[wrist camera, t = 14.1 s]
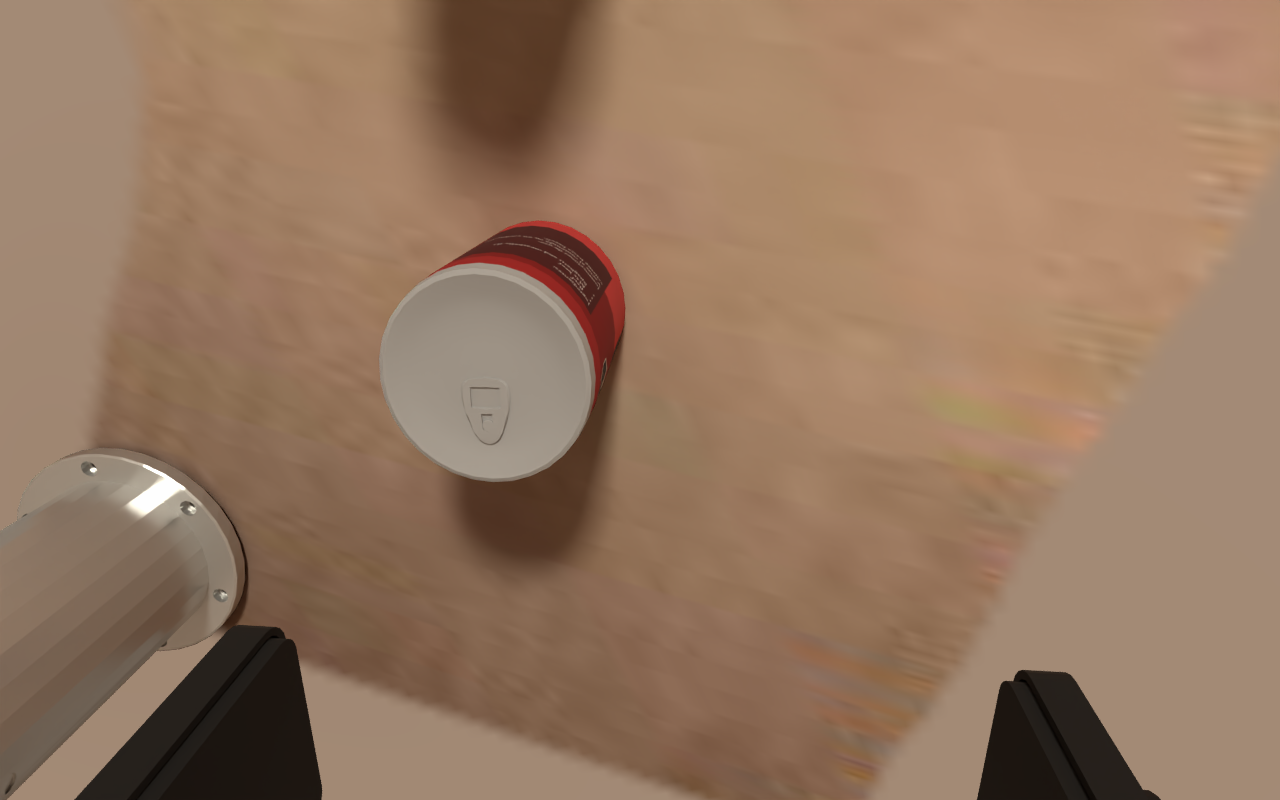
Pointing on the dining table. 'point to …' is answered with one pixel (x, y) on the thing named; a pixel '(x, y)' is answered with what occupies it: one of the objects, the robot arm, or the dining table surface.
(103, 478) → the robot arm
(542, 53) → the dining table surface
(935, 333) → the dining table surface
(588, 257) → the canned food
